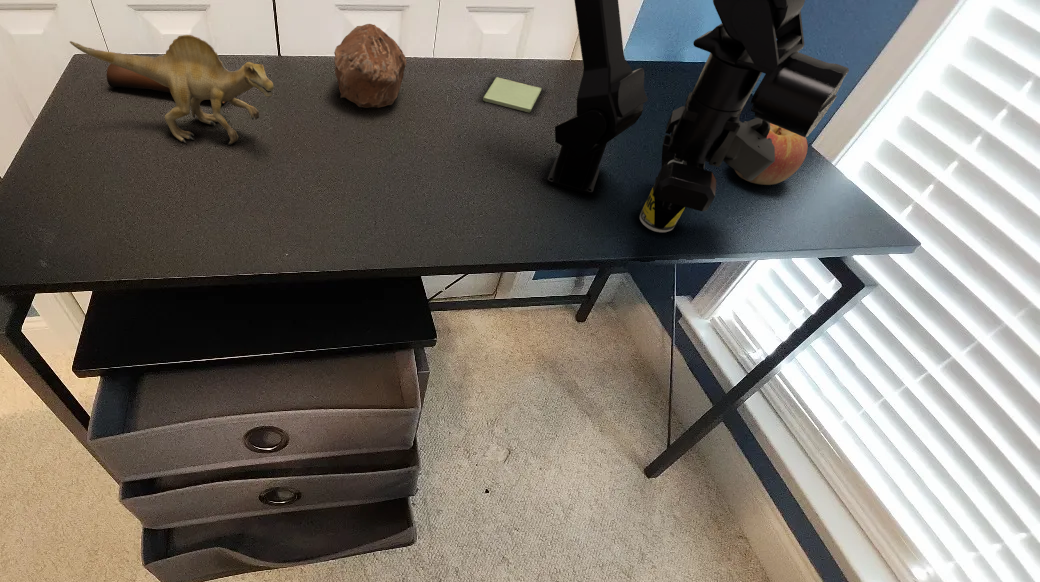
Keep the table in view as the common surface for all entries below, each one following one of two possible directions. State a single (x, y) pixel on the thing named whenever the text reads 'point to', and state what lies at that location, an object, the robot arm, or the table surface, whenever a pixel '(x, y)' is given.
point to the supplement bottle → (648, 213)
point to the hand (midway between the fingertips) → (661, 212)
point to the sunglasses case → (132, 79)
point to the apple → (782, 156)
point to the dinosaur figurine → (193, 80)
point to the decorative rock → (369, 67)
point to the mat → (512, 94)
